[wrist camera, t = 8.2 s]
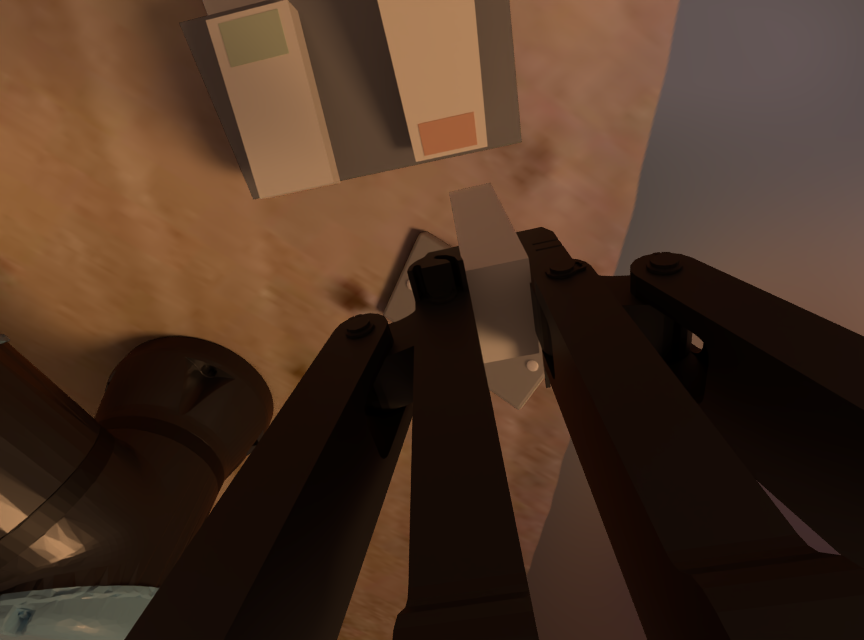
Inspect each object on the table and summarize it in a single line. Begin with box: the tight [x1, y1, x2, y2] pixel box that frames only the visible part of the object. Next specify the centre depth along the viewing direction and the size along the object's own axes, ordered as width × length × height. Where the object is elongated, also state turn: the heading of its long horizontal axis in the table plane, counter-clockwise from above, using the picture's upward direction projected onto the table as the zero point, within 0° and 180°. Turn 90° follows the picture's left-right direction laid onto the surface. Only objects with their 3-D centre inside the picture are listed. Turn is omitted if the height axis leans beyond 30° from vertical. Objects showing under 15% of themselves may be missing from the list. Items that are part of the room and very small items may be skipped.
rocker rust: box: [377, 0, 488, 162], centre depth 23 cm, size 4×9×2 cm, turn 11°
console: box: [179, 0, 522, 199], centre depth 27 cm, size 18×13×6 cm
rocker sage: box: [206, 0, 340, 199], centre depth 24 cm, size 4×9×2 cm, turn 11°
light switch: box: [383, 232, 545, 410], centre depth 37 cm, size 8×6×14 cm
